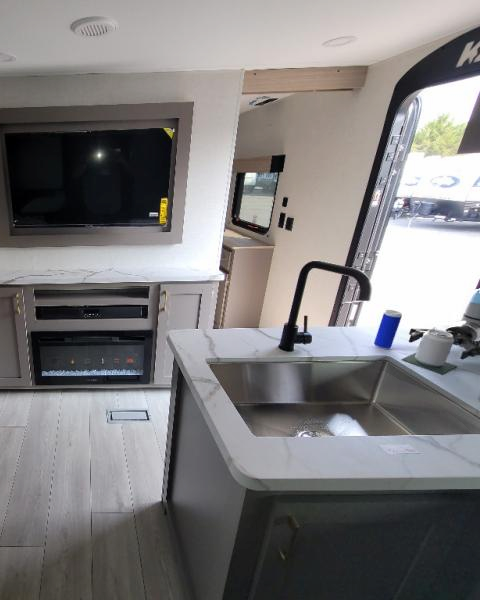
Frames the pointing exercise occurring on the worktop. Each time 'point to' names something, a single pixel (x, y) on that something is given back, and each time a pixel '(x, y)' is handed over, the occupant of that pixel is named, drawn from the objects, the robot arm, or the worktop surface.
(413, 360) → the mat
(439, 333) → the can
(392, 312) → the beverage can
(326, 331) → the worktop surface
